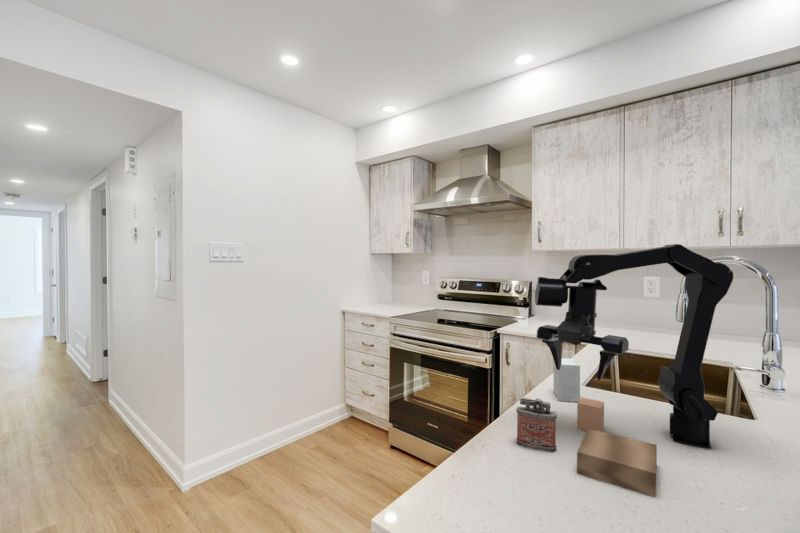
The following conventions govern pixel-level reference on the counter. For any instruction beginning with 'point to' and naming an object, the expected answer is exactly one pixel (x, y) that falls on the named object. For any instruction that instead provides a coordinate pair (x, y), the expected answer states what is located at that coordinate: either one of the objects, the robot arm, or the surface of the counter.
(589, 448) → the plate
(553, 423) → the lighter
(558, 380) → the small box
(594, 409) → the terracotta block
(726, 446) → the counter surface
